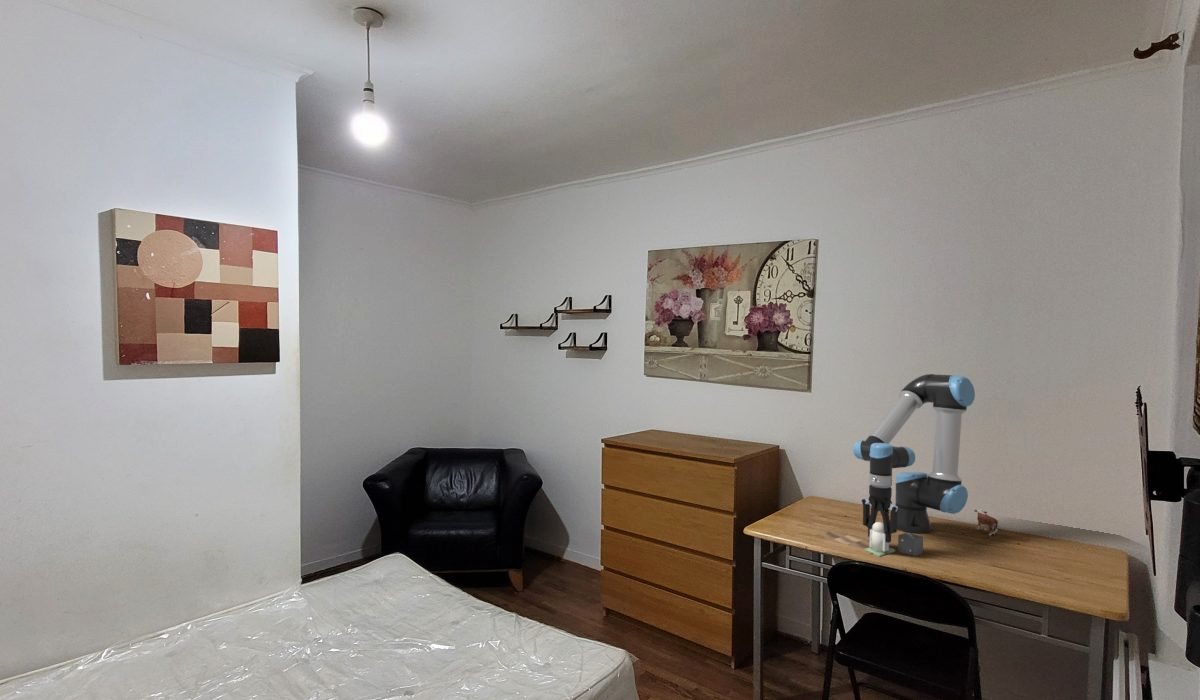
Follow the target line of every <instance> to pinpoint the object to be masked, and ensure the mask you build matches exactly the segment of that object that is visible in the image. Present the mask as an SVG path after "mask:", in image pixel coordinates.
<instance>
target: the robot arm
mask: <svg viewBox="0 0 1200 700" xmlns="http://www.w3.org/2000/svg"><path fill="white" fill-rule="evenodd" d="M975 392H976V391H975V387H974V384H973V383H972V382H971V380H970V379H969V378H968V377H966V376H962V375H956V374H954V375H951V374H935V373H934V374H933V373H932V374H931V373H926V374H924V375H920V376H918V377H916V378H915V379H913V380H911V381H910V382H909V383H907V385H905V386H904V387H903V388H902V390H901V391H899V394H898V399H897V400H896V401H895V403H894V404H893V405H892V407H891V408H890V409H889V410H888V411H887V412H886V414H885V415H884V417H882V419H880V422H878V424H877V425H876V427H875V428H874V429H873V431H871V433H870V434H869V435H868V437H867V438H866V439H865V440H864V439H863V440H857V441H856V442H855V443H854V444H853V448H852V453H853V455H854V456H855V458H856V459H859V460H862V461H864V462H869V480H868V482H869V486H868V491H869V492H868V493H869V497H868V498H863V499H861V502H862V525H863V526H864V527H866V528H867V537H868V538H869V542H870V547H872V530H873V529H872V526H873V524H874V523H876V522H877V516H878V513H879V512H880V515H881V517H882V523H883V524H884V529H885V532H884V533H883V551H884V552H885V551H888V550H889V548H890V543H891V542H892V534H895V533H897V532H898V531H897V530H899V531H902V532H905V533H907V532H908V533H911V534H914V533H915V534H927V533H930V532H931V531H932V523H931V520H930V518H929V514H928V512H927V511H928V509H931V510H936V511H939V512H941V513H946V514H958V513H960V512H961V511H962V510H963V509H964V507H965V506H966V504H967V501H968V496H969V495H968V494H969V492H968V489H967V488H966V487H965V486H964V485H963V484H962V478H961V477H960V476H959V474H958V473H959V462H960V461H959V460H960V458H959V456H960V444H961V431H962V419H963V417H962V415H963V414H964V413H965V412H967V408H968V407H970V406H971V405H972V404H974V401H975V396H976V393H975ZM927 403H932V408H933V409H934V410H935V411H936V421H935V434H934V435H935V436H934V446H933V447H934V449H933V450H934V451H933V462H932V471H931V472H930V473H929V474H928V473H926V472H921V471H920V472H919V471H908V472H907V471H905V472H898V473H897V474H896V478H895V504H893V501H892V490H893V489H892V485H893V479H892V478H893V469H901V468H904V469H905V468H907V467H911V466H912V465H914V463H915V462H916V453H915V452H914V450H913V448H910V447H909V446H893V445H892V444H890V443H891V442H892V440H893V439H894V438H895V437H896V435H898V433H899V432H900V431H901V429H902V428H903V426H905V424H906V423H907V421H908V420H909V419H910V417H912V415H913V413H914V412H915V411H916V410H917V409H921V408H922V406H923V405H925V404H927ZM889 508H890V509H889Z"/></svg>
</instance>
